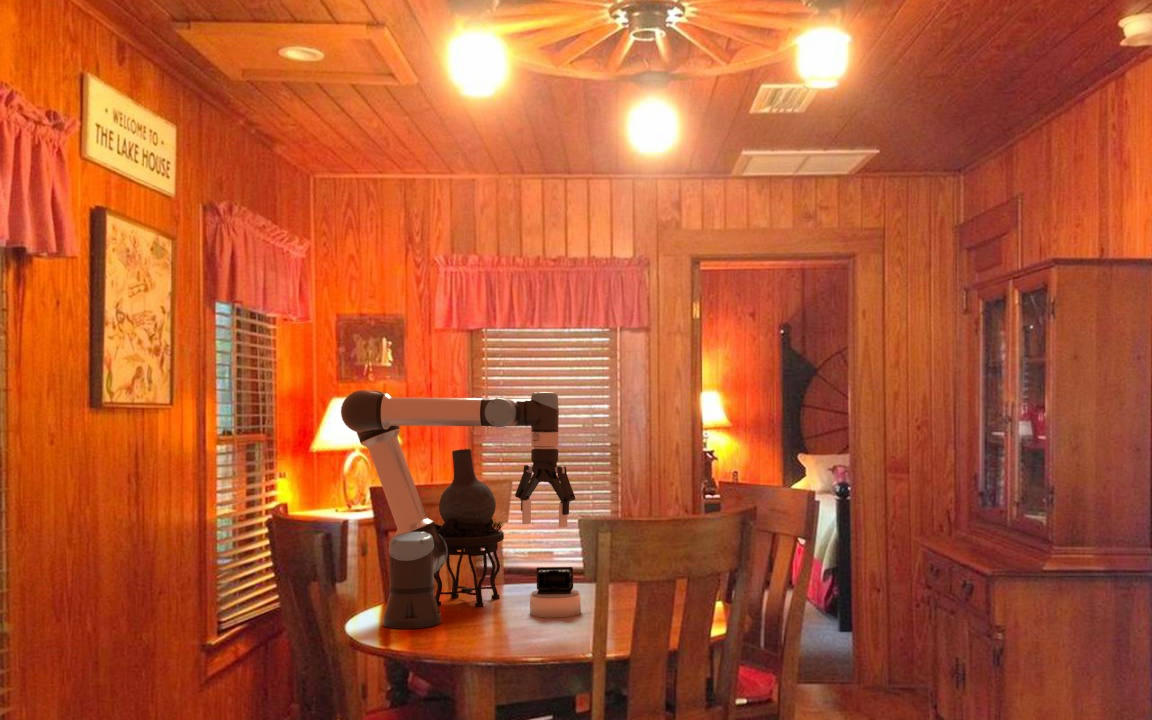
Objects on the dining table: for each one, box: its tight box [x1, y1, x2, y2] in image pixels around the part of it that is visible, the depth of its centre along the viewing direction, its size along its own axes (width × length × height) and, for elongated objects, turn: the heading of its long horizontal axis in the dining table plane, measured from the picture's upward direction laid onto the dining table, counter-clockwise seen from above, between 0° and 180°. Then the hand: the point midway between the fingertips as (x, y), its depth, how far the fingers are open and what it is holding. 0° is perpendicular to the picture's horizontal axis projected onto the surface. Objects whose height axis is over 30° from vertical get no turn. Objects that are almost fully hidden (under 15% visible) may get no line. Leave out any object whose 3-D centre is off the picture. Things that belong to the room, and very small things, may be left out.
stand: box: [529, 588, 582, 619], centre depth 292 cm, size 14×14×6 cm
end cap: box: [535, 566, 574, 594], centre depth 292 cm, size 10×7×7 cm
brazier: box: [434, 448, 505, 608], centre depth 314 cm, size 22×22×45 cm
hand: (544, 525), depth 291 cm, fingers open, 13 cm apart
